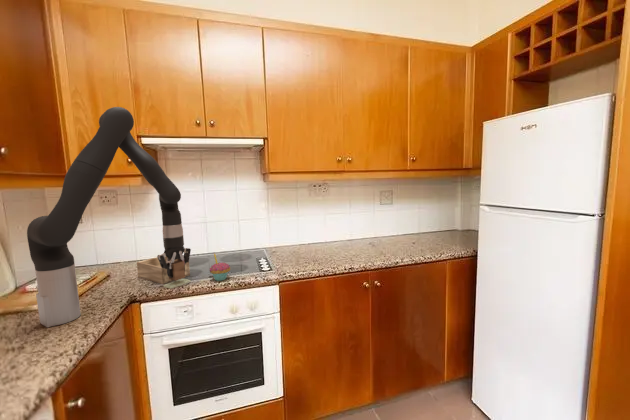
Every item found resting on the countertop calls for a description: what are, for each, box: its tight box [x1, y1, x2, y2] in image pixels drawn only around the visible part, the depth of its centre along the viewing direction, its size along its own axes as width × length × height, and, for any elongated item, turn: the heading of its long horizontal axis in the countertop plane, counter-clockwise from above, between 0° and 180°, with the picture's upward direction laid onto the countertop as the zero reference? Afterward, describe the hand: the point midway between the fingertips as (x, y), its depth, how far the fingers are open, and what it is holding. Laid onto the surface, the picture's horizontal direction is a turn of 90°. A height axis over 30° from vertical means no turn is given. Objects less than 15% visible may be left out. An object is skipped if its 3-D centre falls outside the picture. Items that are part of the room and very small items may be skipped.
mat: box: [162, 278, 191, 289], centre depth 122 cm, size 9×5×1 cm, turn 149°
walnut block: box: [168, 260, 186, 282], centre depth 121 cm, size 4×4×7 cm
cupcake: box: [209, 252, 231, 282], centre depth 127 cm, size 9×8×12 cm
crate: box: [136, 256, 191, 285], centre depth 132 cm, size 13×19×7 cm
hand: (176, 275), depth 122 cm, fingers closed on walnut block, 4 cm apart
